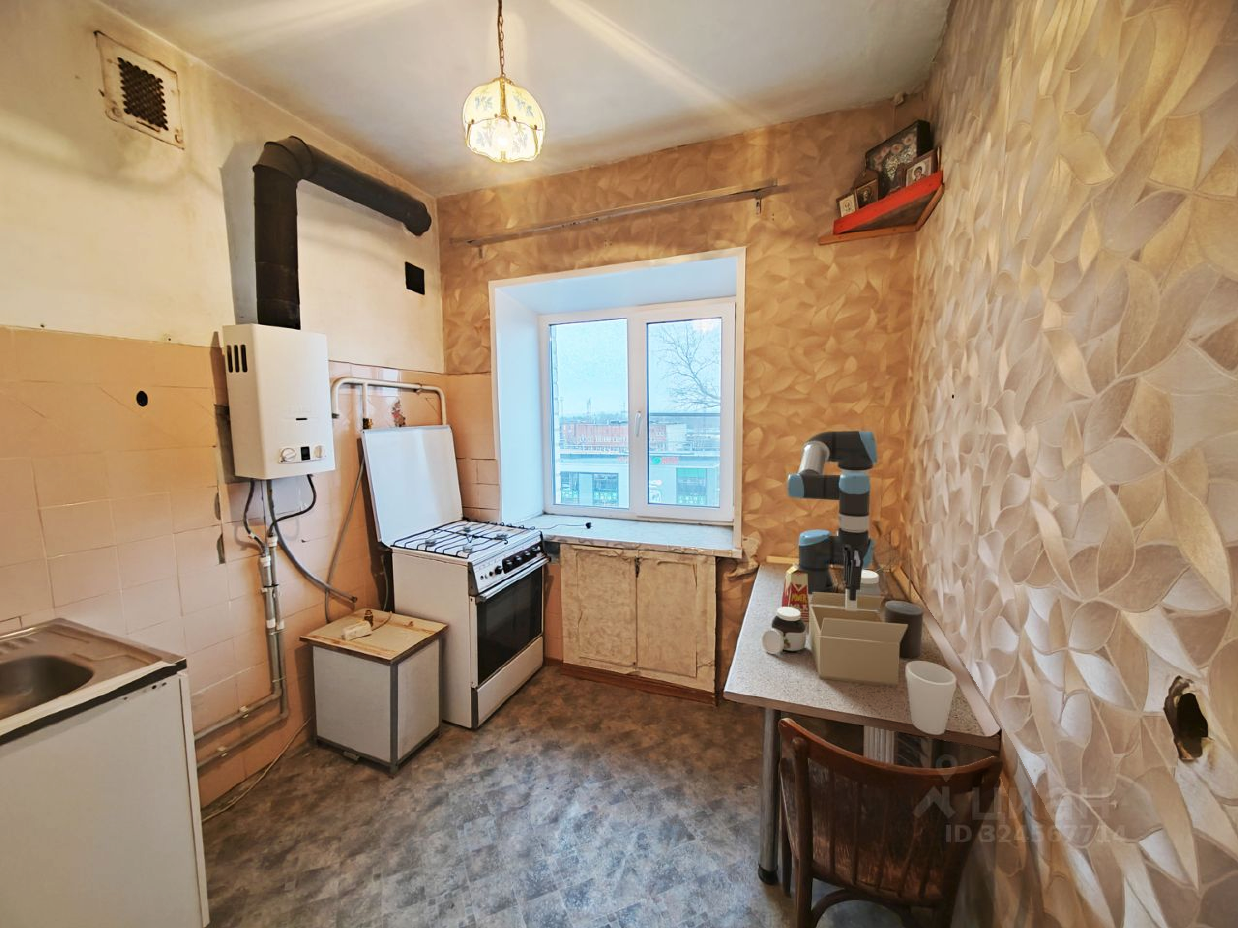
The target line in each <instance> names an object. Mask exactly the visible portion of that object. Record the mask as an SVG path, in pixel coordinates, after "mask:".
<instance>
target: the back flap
mask: <svg viewBox="0 0 1238 928" xmlns="http://www.w3.org/2000/svg"><path fill="white" fill-rule="evenodd" d="M845 598H846V593H835V592H831V593H824V592H813V593H811V597H810V599H809V605H812V606H826V607H839V608H845ZM884 599H885V596H884V595H883V596H882V595H881V596H869V595H857V608H867V609H878V608H879V606H880V607H881V604H882V603H883V601H884Z"/></svg>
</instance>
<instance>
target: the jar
mask: <svg viewBox="0 0 1238 928" xmlns="http://www.w3.org/2000/svg"><path fill="white" fill-rule="evenodd" d="M879 580H880V575H879V574H878V573H877V572H875V571H872V570H869V569H868V570H867V569H862V573H861V583H860V590H858V592H857V595H869V596H882V589H881V587H880V586H879V585H880V583H879V582H880V581H879ZM857 609H865V610H877V611H878V613H879V614H880V615H881V605H880V606H879V608H878V609H867V608H857Z"/></svg>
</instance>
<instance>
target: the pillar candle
mask: <svg viewBox="0 0 1238 928" xmlns="http://www.w3.org/2000/svg"><path fill="white" fill-rule="evenodd" d="M923 616H924V610H923V609H922V607H920V606H919V605H916V604H913V603H910V602H906V601H901V600H890V601H887V602H885V604H884V616H883V617H884V618H883V620H884V622H885V623H896V624H908V627H907V629H906V631H905V633H904V635H903V637H902V639H901V642H900V643H899V644H900V647H899V659H900V658H901V659H903V660H904V659H905V660H914V659H916V660H917V659H919V658H920V657H921V652H922V651H921V650H922V636H923V634H922V633H923V619H924V617H923Z"/></svg>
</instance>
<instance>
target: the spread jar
mask: <svg viewBox="0 0 1238 928" xmlns="http://www.w3.org/2000/svg"><path fill="white" fill-rule="evenodd" d="M761 642H762V643H761V644H762V647H763V648H764V650H765V652H767V653H769V654H771V655H778V654H780V653H781V652H784V653H787V654H796V653H798V652H801V651H803V649H804V648H805V647H806V643H807V625H805V623H804V621H803V620H802V619H801V612H800V611H799V610H797V609H795V608H792V607H781V606H780V607H778V608H777V609H776V615H775V616H774V617H773V618H772V621H771V628H770V629H768V630H766V631H765V632H764V633H763V634H762V638H761Z"/></svg>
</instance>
